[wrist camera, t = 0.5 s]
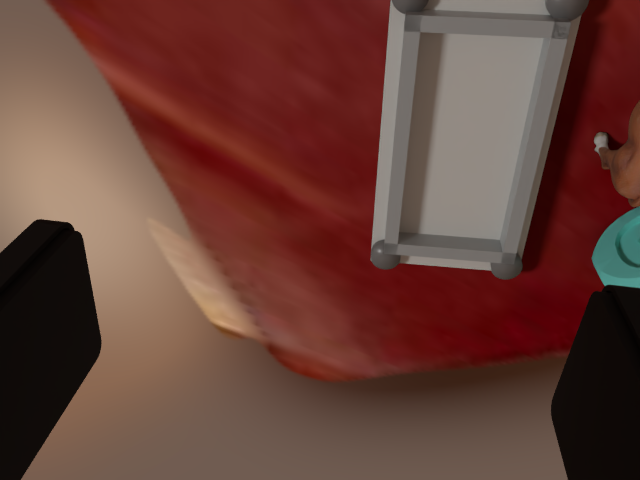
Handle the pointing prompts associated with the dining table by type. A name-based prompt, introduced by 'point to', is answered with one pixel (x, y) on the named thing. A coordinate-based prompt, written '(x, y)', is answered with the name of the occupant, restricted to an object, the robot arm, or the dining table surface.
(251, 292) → the dining table surface
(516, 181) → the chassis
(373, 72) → the dining table surface
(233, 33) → the dining table surface
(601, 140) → the bull figurine
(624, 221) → the decorative dice
